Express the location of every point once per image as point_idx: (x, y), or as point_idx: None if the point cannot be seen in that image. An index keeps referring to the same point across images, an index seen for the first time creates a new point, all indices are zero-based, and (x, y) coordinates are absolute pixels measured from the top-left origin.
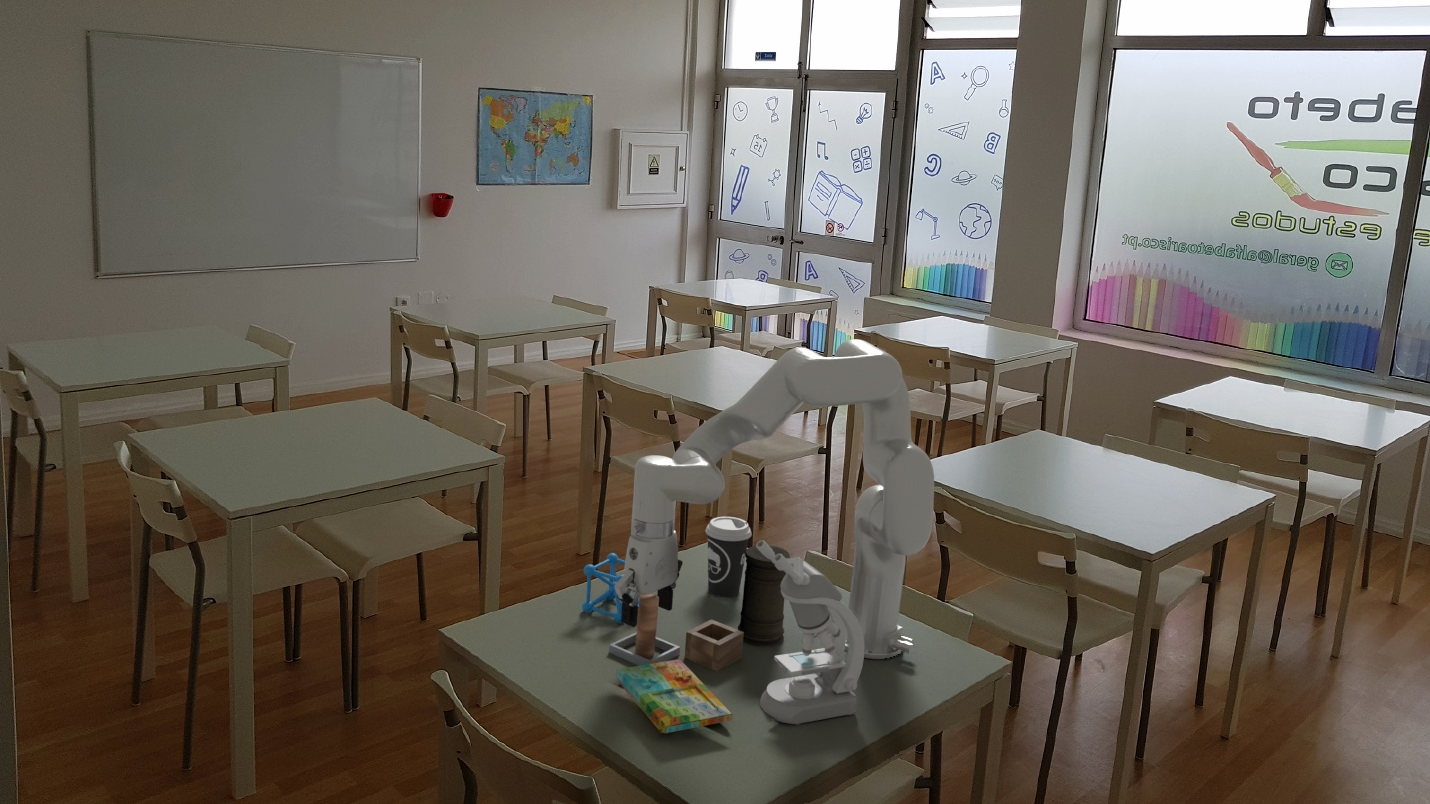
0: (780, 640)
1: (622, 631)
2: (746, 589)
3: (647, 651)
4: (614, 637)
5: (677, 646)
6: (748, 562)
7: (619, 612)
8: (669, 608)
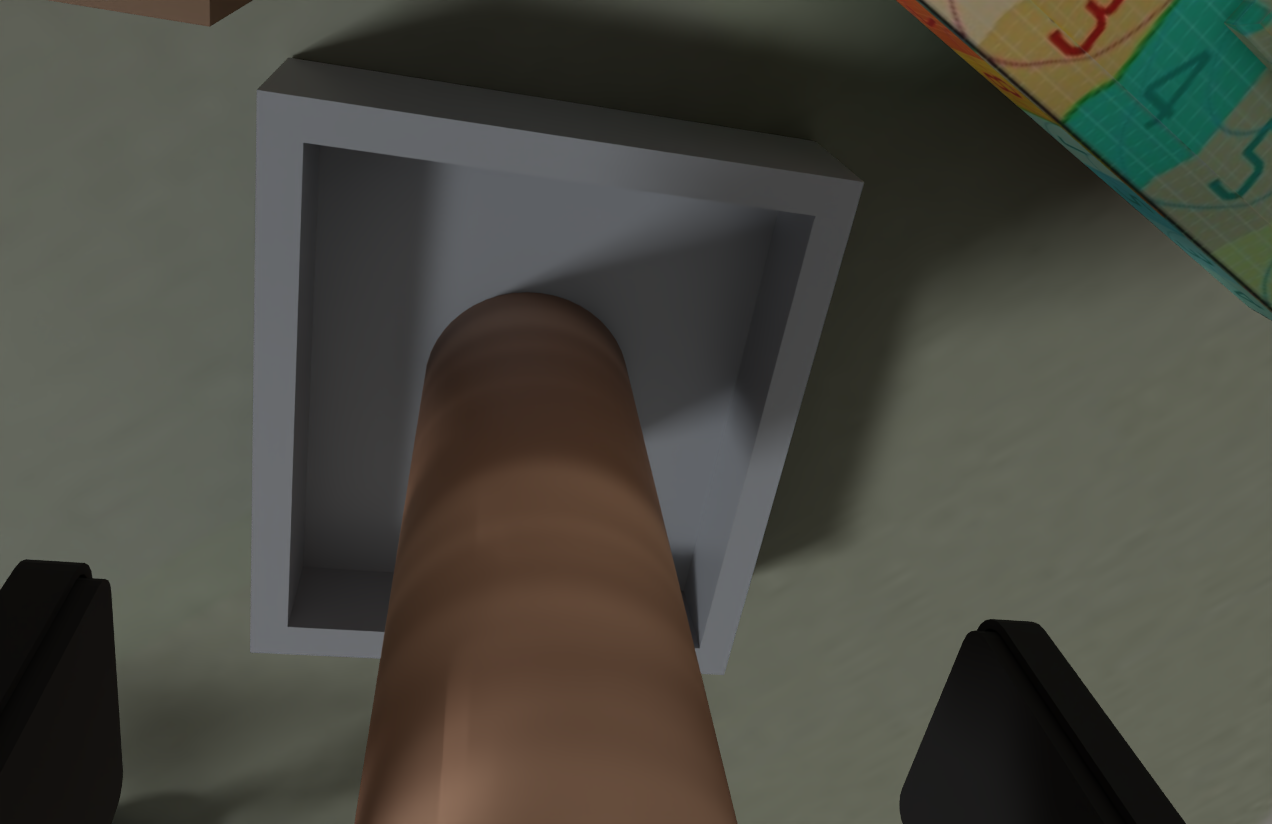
0: None
1: (209, 761)
2: None
3: (607, 352)
4: (354, 744)
5: (271, 127)
6: None
7: None
8: (80, 594)
